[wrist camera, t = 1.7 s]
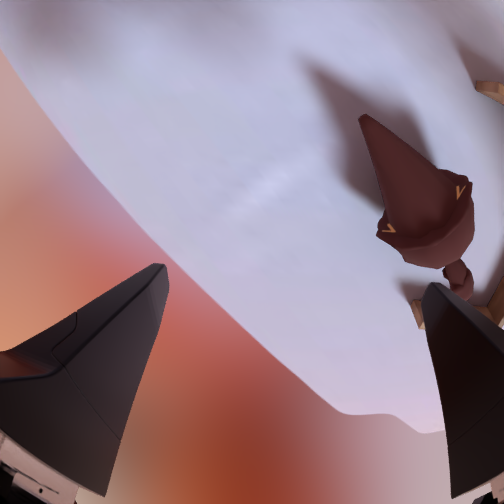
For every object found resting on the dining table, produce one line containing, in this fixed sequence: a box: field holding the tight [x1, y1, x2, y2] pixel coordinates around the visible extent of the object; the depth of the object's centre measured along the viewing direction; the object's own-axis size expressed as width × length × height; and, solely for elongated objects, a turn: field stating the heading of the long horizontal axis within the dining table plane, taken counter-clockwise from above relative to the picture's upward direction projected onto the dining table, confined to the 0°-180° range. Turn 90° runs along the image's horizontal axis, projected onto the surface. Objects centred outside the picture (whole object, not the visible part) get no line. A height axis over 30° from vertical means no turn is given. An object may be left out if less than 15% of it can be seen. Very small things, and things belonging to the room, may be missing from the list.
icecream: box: [358, 114, 475, 301], centre depth 16 cm, size 7×7×15 cm
